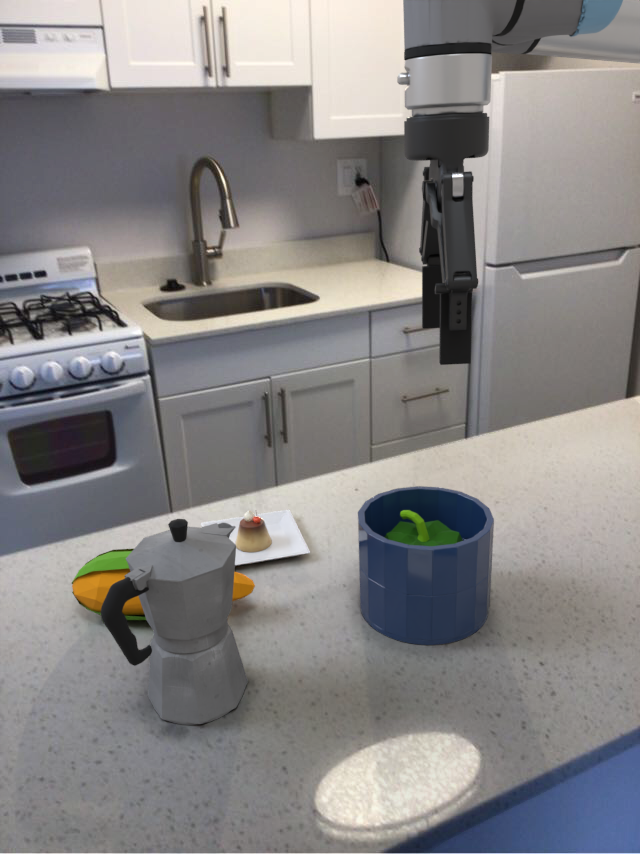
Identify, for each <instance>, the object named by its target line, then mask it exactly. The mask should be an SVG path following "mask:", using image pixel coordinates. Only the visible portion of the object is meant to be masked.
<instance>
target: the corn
mask: <svg viewBox="0 0 640 854" xmlns="http://www.w3.org/2000/svg"><path fill="white" fill-rule="evenodd" d="M134 549H135V547H134V548H120V549H119V548H118V549H117V548H116V549H112V550H109V551H105V552H103V553H100V554H98V555H96V556H94V557H93V558H92V559H90V560H89V561H87V562H86V563H85V564H84V565H83V566H82V567H80V569H79V570H78V572H77V573H76V575H75V576H74V578H73V579H72V582H71V583H70V584H71V587H72V595H73V596H74V598H75V599H76V601H77V603H78V604H79V605H81V606H82V607H83V608H84V609H86V610H87V611H89V612H92V613H95V614H97V615H99V616H101V607H102V604H103V602H104V600H105V598H106V596H107V593H108V591H109V589H110V587H111V586H112V585H113V584H114V583H116V582H118V581H120V580H123V579H124V578H125V575H126V574H128V573H129V572H130V569H129V566H128V563H127V561H126V558H127V557H128V555H129V554H130V553H131V552H132V551H133V550H134ZM255 588H256V584H255V583H254V581H253V579H251V578H250V577H248V576H247V575H245V574H244V573H242V572H237V571H236V570H234V584H233V597H232V603H233V602H236V601H239V600H242V599H244V598H246V597H247V596H249V595H251V594H252V593H253V591H254V589H255ZM122 613H123V614H124V615H125V617H126V619H127V621H147V620H146V617H145V614H144V611H143V608H142V605H141V602H140V599H139V596H136V597H134V598H132V599H130V600H128V601H127V602H126V603H125V604H124V607H123V610H122Z"/></svg>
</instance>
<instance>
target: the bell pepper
mask: <svg viewBox="0 0 640 854" xmlns="http://www.w3.org/2000/svg"><path fill="white" fill-rule="evenodd" d="M400 516H401V517H402V519H410V520H412V521H413V522H414V523H415V524H414V523H409V522H402V521H400V522H399V523H398V524H397V525H396V526H395V527H394V528H393V529H392V531H391V532H389V533H386V535H385V537H384V538H386V539H388V540H392V541H396V542H400V543H404V544H408V545H419V546H439V545H448V544H455V543H458V542H461V541H463V540H462V537H461V535H460V533H459V532H456V531H453V530H451V529H449V528H448V527H447V526H445V525H444V524H443V523H441V522H440V521H439V520H436V521H430V522H424V520H423V519H422V518H421V517H420V516H419V515H418V514H417V513H415V512H412V511H410V510H403V511H401V512H400Z"/></svg>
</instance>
